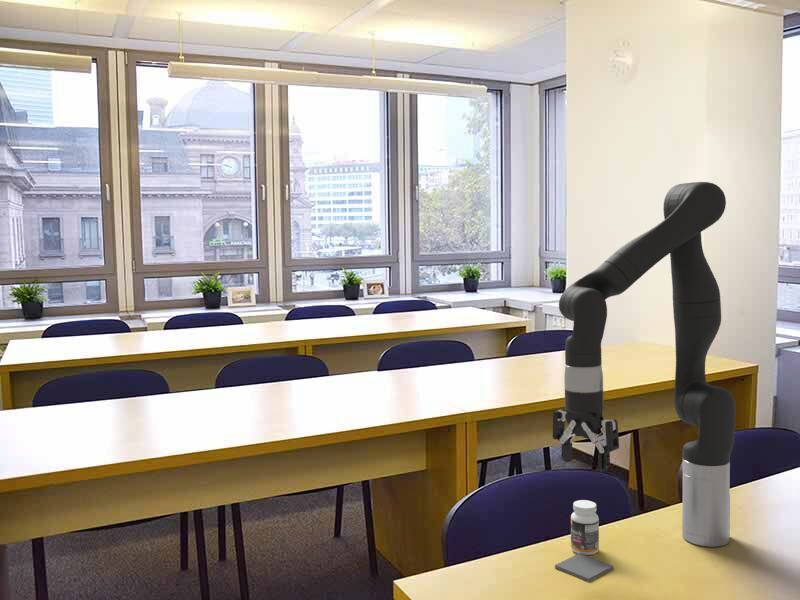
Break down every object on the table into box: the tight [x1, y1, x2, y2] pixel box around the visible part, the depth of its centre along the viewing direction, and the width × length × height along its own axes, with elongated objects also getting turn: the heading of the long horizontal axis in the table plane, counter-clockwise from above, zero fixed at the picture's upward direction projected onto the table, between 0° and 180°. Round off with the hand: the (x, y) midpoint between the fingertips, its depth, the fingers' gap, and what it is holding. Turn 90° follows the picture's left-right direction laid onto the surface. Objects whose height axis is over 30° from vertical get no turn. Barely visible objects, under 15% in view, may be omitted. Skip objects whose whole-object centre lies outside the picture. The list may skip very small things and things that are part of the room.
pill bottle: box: [570, 499, 600, 556], centre depth 154 cm, size 6×6×10 cm
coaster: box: [554, 553, 615, 582], centre depth 146 cm, size 8×8×1 cm
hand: (585, 465), depth 150 cm, fingers open, 8 cm apart
